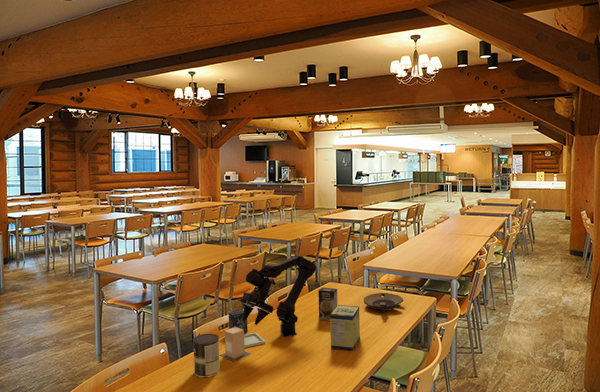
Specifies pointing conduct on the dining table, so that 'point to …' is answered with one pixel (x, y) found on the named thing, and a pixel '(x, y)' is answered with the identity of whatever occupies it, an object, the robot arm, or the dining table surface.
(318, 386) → the dining table surface
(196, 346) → the coffee can
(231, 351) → the carton
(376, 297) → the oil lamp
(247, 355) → the mat
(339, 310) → the protein box
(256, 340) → the tray
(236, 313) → the box
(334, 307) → the coffee box
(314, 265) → the robot arm
